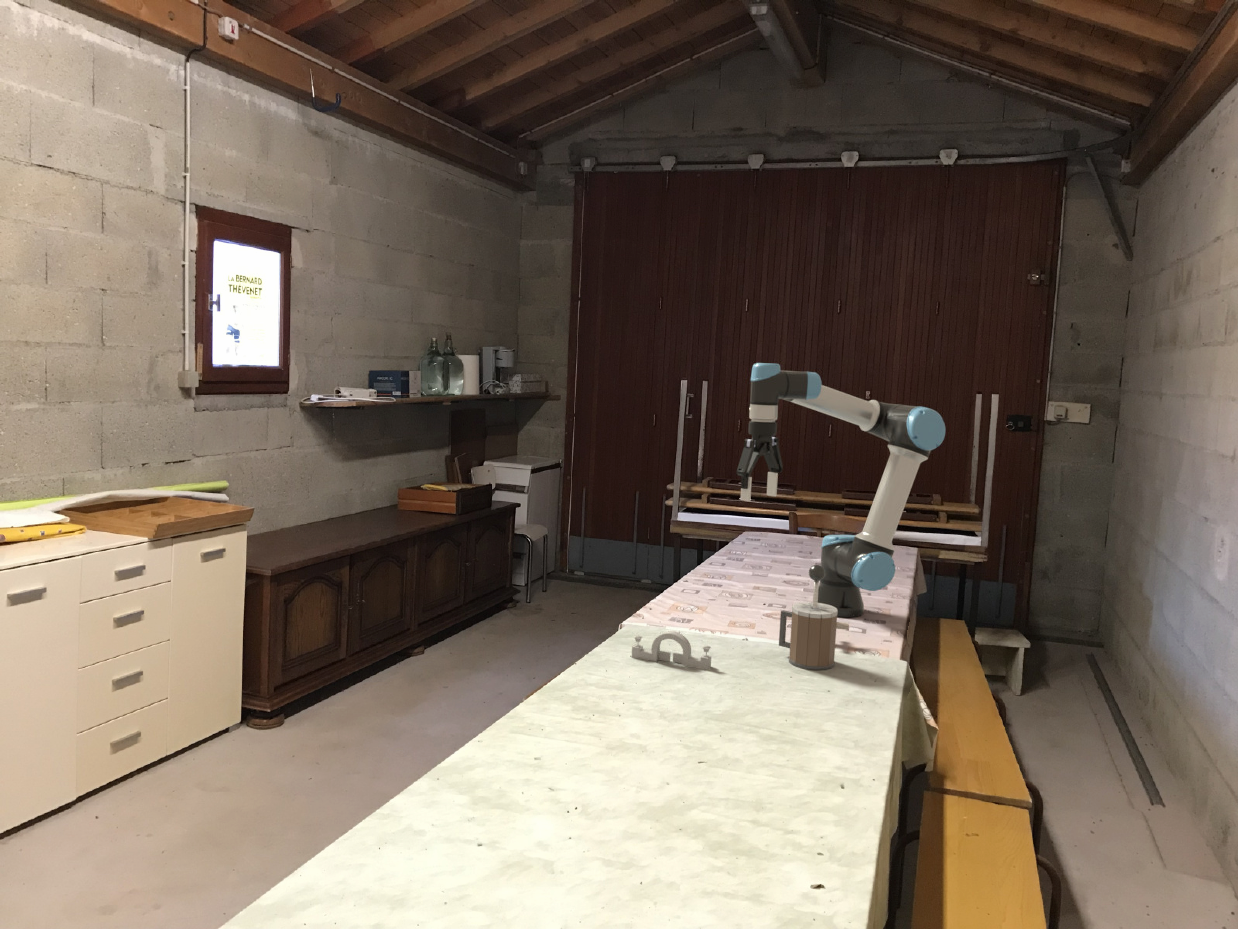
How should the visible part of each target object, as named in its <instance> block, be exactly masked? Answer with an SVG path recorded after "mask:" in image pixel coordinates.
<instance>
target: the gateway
mask: <svg viewBox="0 0 1238 929" xmlns="http://www.w3.org/2000/svg"><path fill="white" fill-rule="evenodd" d="M633 638H634V639H635V640H634V641H635V642H636V643H637V644H634V645H632V647H631V658H635V659H638V660H639V659H640V660H641V659H642V660H645V661H653V662H657V661H666V662H671V652H669V651H662V650H661V643H662V642H664V641H665V640H673V641H674V642H676V643H678V644H679V645H680V646H681V649H682V653H679V652H678V653H677V652H673V653H672V662H673V663H677V664H682V666H683V665H684V666H683V667H689V668H690V667H691V668H697V669H702V670H709V669H710V668H711V667H712V655H708V654H707V653H709V651H710V649H711V648H712V647H711V646H710V645H706V644H705V645H704V646H702V649H703V652H704V653H705V654H702V655H701V657H698V656H697V657H696V656H692V647H691V643H690V641H689V639H687V637H686V636H685V635H683V634H682V633H680V632H677V631H675V630H667V631H663V632H662V633H661V634H659V635H658V636H657V637H655V639H654V640H653V642H652V645H651V649H645V648H644V645H642V644H638V643H640V642H641V640H642V638H643V636H641V635H638V634H637V635H636V636H634V637H633Z"/></svg>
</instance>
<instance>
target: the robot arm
mask: <svg viewBox="0 0 1238 929" xmlns="http://www.w3.org/2000/svg"><path fill="white" fill-rule="evenodd" d="M749 398H750V401H749V415H748V416H749V417H748V418H749V419H750V420H749V421H748V435H751V436H752V437H751V439H749V438H745V439H744V446H743V449H742V453H741V456H740V459H739V462H738V465H737V469H736V474H737V476H738V477H740V478H741V479H740V484H741V485H740V501H744V502H751V496H752V479H753V477H752V476H751V475H752V472H753V470H754V468H755V466H756V464H757V462H758V460H759V458H761V457H762V456H763V457H764V460H765V462H766V464H767V467H768V470H769V471H768V472H767V480H766V482H767V483H766V496H770V497H777V494H778V493H777V492H778V476H779V474H778V473H780V474H781V473H782V471H783V470H784V469H783V467H784V464H783V460H782V456H781V451H780V445H779V442H780V441H779V437H775V436H776V435H777V432H778V431H777V429H778V428H777V427H778V423H777V422H776V421H777V420H778V415H779V414H778V413H779V412H778V410H779V400H784V401H786V402H791V403H793V404H796V405H799V406H802V407H804V408H807V409H811V410H814V411H817V412H819V413H822V414H825V415H827V416H829V417H830V416H831V417H834V418H837V419H840V420H842V421H845V422H848V423H851V424H853V425H856V426H859V428H860V430H861V431H862V432H863V431H864V432H866V433H868V434H871V435H874V436H875V437H878V438H880V439H882V440H885V441H887V442H888V444H887V448H888V449H889V453H890V454H889V457H888V459H887V462H886V465H885V468H884V471H883V474H882V475H881V479H880V482H879V484H878V487H877V489H876V493H875V496H874V498H873V501H872V505H871V506H870V510H869V512H868V515H867V518H866V521H865V524H864V527H863V528H862V531H860V532H859V533H858V534H855V535H853V534H828V535H825V536H824V537H823V538H822V543H821V546H820V547H821V553H820V566H822V567H823V568H824V570H825V577H824V578H823V579H822V580H820V581H819V588H818V603H823V604H827V605H831V606H834V607H835V608H837V611H838V613H837V618H838V617H841V618H853V617H859V616H862V615H864V611H865V610H864V609H865V606H864V604H865V603H864V601H863V597H862V593H861V590H866V591H869V592H876V591H880V590H882V589H884V588H886V587H887V586H888V585H890V583H891V582H892V580H893V579H894V577H895V573H896V565H895V560H894V559H893V556H894V553H895V550H896V549H895V547H894V545H893V539H894V537H895V534H896V531H897V529H898V525H899V523H900V520H901V518H902V514H903V511H904V509H905V506H906V504H907V502H908V501H907V500H908V499H909V495H910V492H911V489H912V487H913V484H914V481H915V479H916V476H917V474H918V470H919V468H920V466H921V464H922V463H923V462H925V461H927V460H928V459H929V457H930V454H931V451H933V450H935V449H936V448H938V447H940V445H941V444H942V443H943V441H944V440H945V436H946V425H945V421H944V419H943V417H942V415H941V414H940V413H939V412H938V411H937V410H934V409H932V408H929V407H927V406H926V407H925V406H922V405H921V406H916V405H907V404H896V403H887V402H882V401H878V400H876V399H871V400H865V399H863V398H860V397H856V396H854V395H851V394H848V393H846V392H843V391H840V390H837V389H835V388H831V387H829V386H825V385H823V384H822V379H821V376H820V375H819V374H818V373H817V372H816V371H815V372H814V371H813V372H812V371H798V370H797V371H795V370H783V369H782V370H781V365H780V364H779V363H768V362H767V363H765V362H764V363H763V362H756V363H753V365H752V368H751V375H750V397H749Z"/></svg>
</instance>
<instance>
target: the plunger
mask: <svg viewBox="0 0 1238 929" xmlns="http://www.w3.org/2000/svg"><path fill="white" fill-rule="evenodd" d="M808 576H809V578H810V579H811V581H812V580H813V590H812V602H813V605H812V609H816V610H817V604H818V588H819V583H820V580H822V579H823V578H824V577H825V570H824V568H823V567H822V566H821V564H814V565H812V566H811V567H809V570H808Z"/></svg>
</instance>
